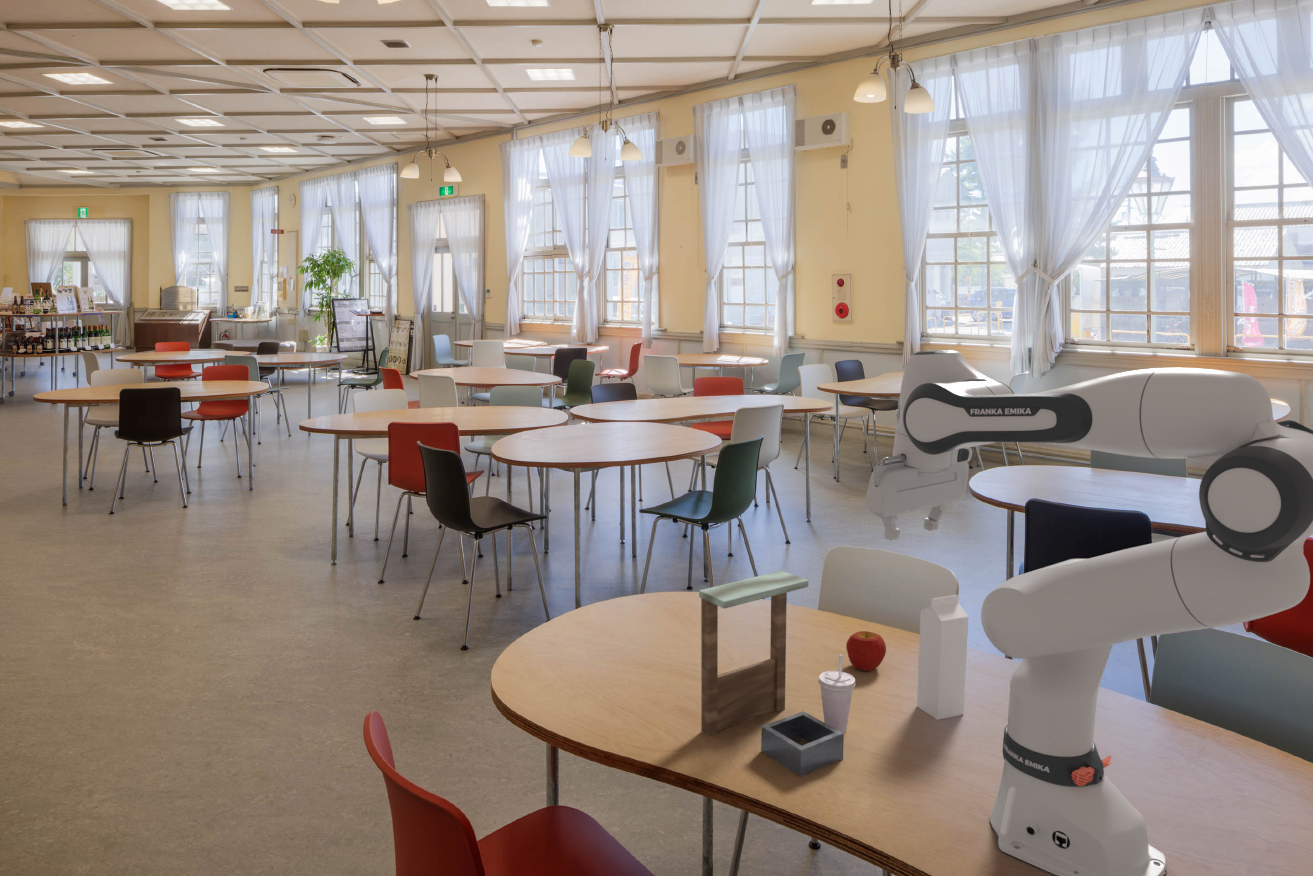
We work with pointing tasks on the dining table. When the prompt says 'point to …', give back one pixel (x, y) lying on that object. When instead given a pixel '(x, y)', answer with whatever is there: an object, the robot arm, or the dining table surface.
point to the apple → (865, 650)
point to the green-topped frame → (754, 684)
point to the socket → (805, 758)
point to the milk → (942, 658)
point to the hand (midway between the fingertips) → (911, 534)
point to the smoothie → (836, 696)
